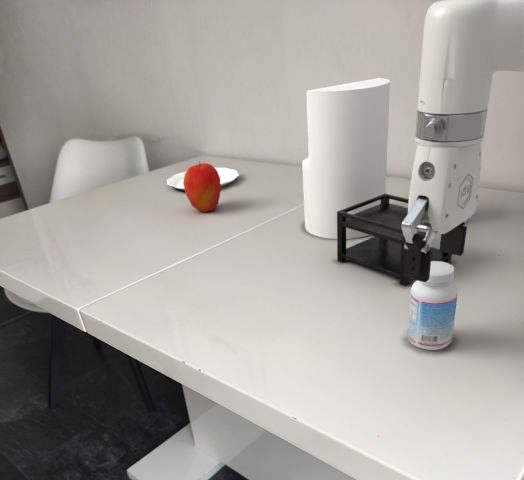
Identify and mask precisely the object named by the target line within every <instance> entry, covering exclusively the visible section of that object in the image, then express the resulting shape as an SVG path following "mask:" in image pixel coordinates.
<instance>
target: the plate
mask: <svg viewBox="0 0 524 480" xmlns="http://www.w3.org/2000/svg"><path fill="white" fill-rule="evenodd" d="M214 168H215V169H216V170H217V172H218V174H219V176H220V186H221V187H224V186H226V185H228V184H230V183H232V182H234V181H235V180H236V179H237V178H239V177H240V173H239V172H238V170H237V169H232V168H228V167H214ZM186 171H187V170H186ZM186 171H182V172H178V173H176V174H172V176H170V177H168V178H167V179H166V185H167V186H168V187H171V188H175V189H178V190H181V191H185V188H184V184H183V182H184V176H185V173H186Z"/></svg>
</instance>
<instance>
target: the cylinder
mask: <svg viewBox="0 0 524 480" xmlns="http://www.w3.org/2000/svg"><path fill="white" fill-rule="evenodd" d="M390 88H391V80H390V79H387V78H383V77H375V78H371V79H366V80H359V81H354V82H347V83H343V84H337V85H330V86H324V87H319V88H314V89H309V90H305V92H306V93H305V95H306V96H305V97H306V121H307V122H306V123H307V146H308V149H307V151H308V156H307V157H305V158H304V159H303V160H302V162H301V168H302V189H303V190H302V191H303V192H302V193H303V194H302V195H303V211H304V212H303V214H304V217H303V218H304V229H305V230H306V232H308V233H309V234H310V235H312V236H316V237H318V238H324V239H329V240H330V239H331V240H332V239H333V240H337V211H340V210H343V209H345V208H348V207H351V206H353V205H356V204H359V203H361V202H364V201H367V200H369V199H372V198H375V197H377V196H380V195H383V194H387V193H386V192H387V191H386V190H387V189H386V188H387V165H388V164H387V163H388V144H389V143H388V140H389V118H390V117H389V115H390V114H389V113H390V91H391V90H390ZM379 204H381V200H378V201H375V202H373V203H370V204H367V205H365V206H362V207H360V208H357V209H354V210H352V211H349V212H346V213H349V214H352V215H353V214H356V213H358V212H361V211H363V210H366V209H369V208H371V207H374V206H376V205H379ZM368 236H370V235H369V234H366V233H362V232H359V231H356V230H353V229H349V228H346V240H350V239H351V240H353V239H358V238H363V237H368Z"/></svg>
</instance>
